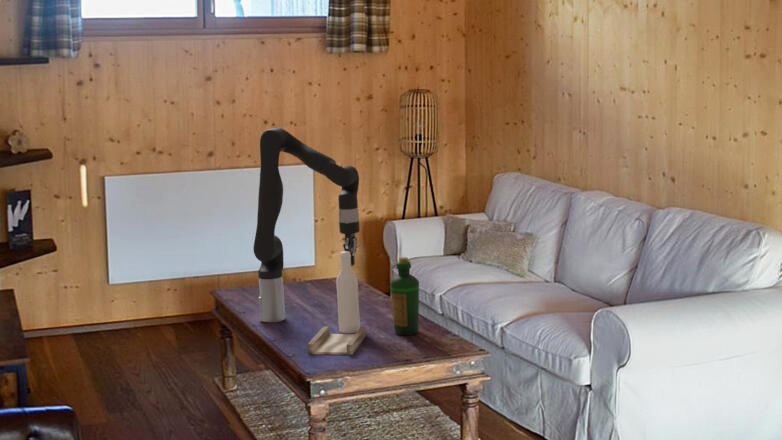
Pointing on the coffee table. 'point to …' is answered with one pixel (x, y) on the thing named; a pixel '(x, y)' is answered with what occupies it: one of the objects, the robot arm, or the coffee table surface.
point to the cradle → (336, 342)
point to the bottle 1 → (347, 296)
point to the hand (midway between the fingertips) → (351, 265)
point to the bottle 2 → (405, 299)
